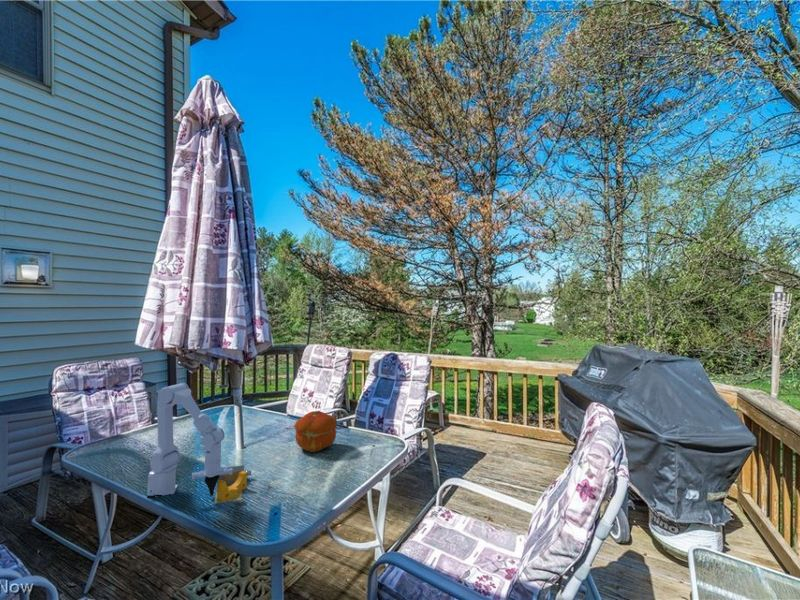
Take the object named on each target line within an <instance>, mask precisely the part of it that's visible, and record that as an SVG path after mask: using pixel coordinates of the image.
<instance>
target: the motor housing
mask: <svg viewBox="0 0 800 600" xmlns="http://www.w3.org/2000/svg"><path fill="white" fill-rule="evenodd" d="M224 468H232V475H229V474H228V475H220V476H219V479H218V481H220V480H223V481H226V485H227V487H229V486H231V485H233V484H234V483H235V482H236V480H237V479H238V476H239V472H242V471H245V472H247V477H248V476H251V475H252V470H245V465H235V466H227V467H226V466H225V467H224ZM218 481H217V482H218ZM243 491H244V489H243V490H241V491H239V492H238V495H236V496H233V497H231V498H229V499H227V500H225V501H222V500H220V499H218V498H217V491H216V492H215V498H214V500H213V505H215V504H221V503H223V504H224V503H229V502H236V501H242V498H243Z"/></svg>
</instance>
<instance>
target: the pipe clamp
mask: <svg viewBox="0 0 800 600" xmlns="http://www.w3.org/2000/svg"><path fill="white" fill-rule="evenodd" d="M245 471H246V470H244V471H242V472H239V476H238V479H237V480H236V482H235V483H234V484H233V485H231V486H229V487H227V485H226V481H223V480H220V481H217V483H216V492H217V498H218V499H220V500H222V501H225V500H227V499H229V498H231V497H233V496H236V495H238V492H239V491H241V490H243V491H244V490H246V489H247V486H248V483H247V482H248V476H247V472H245Z"/></svg>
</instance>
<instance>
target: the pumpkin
mask: <svg viewBox="0 0 800 600" xmlns="http://www.w3.org/2000/svg"><path fill="white" fill-rule="evenodd" d="M337 426H338V420H337V419H336V417H334V416H333V415H331V414H327V413H326V412H323V411H320V410H314V411H310V412H308V413H306V414H304V416H301V417H300V418H299V419H297V420H296V421H295V423H294V430H295V441H296V444H297V445H298V446H299V448H301V449H303V450H305V451H307V452H311V453H316V451H317V452H319V451H322V450H324V449H326V448H328V447H330V446H332V445H333V443H334V442H335V440H336V436H337V430H336V429H337V428H338V427H337Z"/></svg>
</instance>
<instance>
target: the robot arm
mask: <svg viewBox="0 0 800 600" xmlns="http://www.w3.org/2000/svg"><path fill="white" fill-rule="evenodd" d="M156 402H157V403H156V418H157V420H156V421H157V422H156V423H157V448H156V449H155V450H154V451H153V453H152V454H151V460H150V462H149V463H150V464H149V465H150V470H151V471H149V473H148V476H147V489H146V491H147V495H153V494H155V495H162V496H167V495H168V496H169V494H170V495H174V494H175V492H176V490H177V488H178V486H179V485H178V484H176V468H177V466H178V464H179V463H180V461H181V453H180V452H179V446H177V445H176V444H174V415H173V409H174V408H173V407H174V406H175V405H181V406H182V407H183V408H184V410H186V412H187V413H188V414H189V415H190V416H191V417H192V418H193V425H194V427H195V428H196V429H197V431H198V432H199V434H200V435H201V436H202V438H201V443H202V444H203V449H204V470H201V471H195V472H192V473H191V480H196V479H202V478H203V479H204V482H205V483H204V484H206V486H207V488H208V491H209V496H210V497H212V496H214V493H215V492H214V491H215V488H216V487H217V482H218V479H219V476H220V475H228V474H229V475H232V468H225V467H221V461H222V460H221V459H222V441H224V439H225V432H224V430H223V428H221V427H219V426H217V425H215V423H214V422H213V421H212V419H211V418H210V416H209V415H208V414H206V413H203V412H202V411H201V409H200V408H199V406H198V404H197V403H196V401H195V399H194V398H193V396H192V389H191V388H189V385H188V384H187V383H185V382H180V383H177V384H172V385H169V386H164V387H162V388H161V389H160V390H158V392H157V401H156ZM150 491H152V492H150ZM147 495H146V496H147Z"/></svg>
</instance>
